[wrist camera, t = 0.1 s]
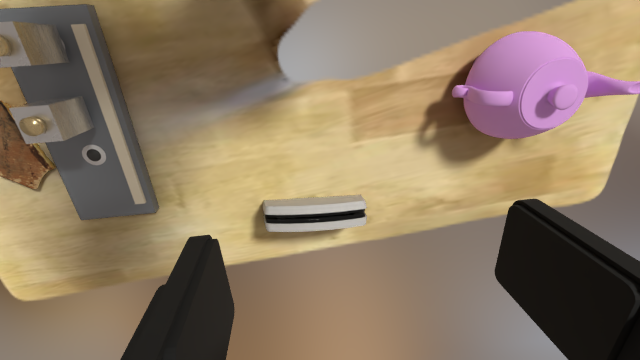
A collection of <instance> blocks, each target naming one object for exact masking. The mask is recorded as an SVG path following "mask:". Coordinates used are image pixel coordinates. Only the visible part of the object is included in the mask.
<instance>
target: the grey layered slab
mask: <svg viewBox="0 0 640 360" xmlns="http://www.w3.org/2000/svg"><path fill="white" fill-rule="evenodd" d="M365 208H367V207H366V203H365V200H364V198H363V197H362V196H361V195H347V196H330V197H313V198H296V199H279V200H264V202H263V211H264V214H265V215H263V217H264V222H265V226H266V230H267V231H270V232H303V231H321V230H333V229H342V228H350V227H356V226H362V225H365V224H366V219H367V216H366V214H365V212H364V211H365Z"/></svg>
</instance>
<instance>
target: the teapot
mask: <svg viewBox="0 0 640 360" xmlns="http://www.w3.org/2000/svg"><path fill="white" fill-rule="evenodd" d="M628 94H640V82H637V81H622V80H617V79H613V78H610V77H607V76H604V75H601V74H597V73H594V72H589V71H586V68H585V66H584V64H583V62H582V60H581V59H580V57H579V56H578V54H577V53H576V52H575V51H574V50H573V48H572V47H571V46H569V45H568V44H567V43H566V42H564V41H563V40H561V39H559V38H558V37H555V36H552V35H549V34H547V33H542V32H536V31H523V32H516V33H513V34H510V35H507V36H505V37H503V38H501V39H499V40H498V41H496V42H495V43H493V44H492V45H491V46H489V47H488V48H487V49H486V50H485V51H484V52H483V53H482V54H481V55H480V56H478V57H477V58H476V59H475V60H474V62H473V66H472V68H471V70H470V72H469V75H468V77H467V80H466V83H465V85H457V86H455V87H454V88H453V90H452V96H453V97H460V98H463V99H464V108H465V112H466V114H467V117H468V118H469V120H470V122H471V123H472V125H473V126H474V127H475V128H476V129H477V130H479V131H481V132H482V133H484V134H487V135H489V136H493V137H498V138H506V139H516V138H524V137H530V136H533V135H537V134H540V133H543V132H545V131H548V130H550V129H553V128H555V127H557V126H559V125H560V124H562V123H564V122H565V121H567V120H568V119H569V118H570V117H571V116H572V115H573V114H574V113H575V112H576V111H577V109H578V108H579V107H580V105H581V103H582V102H583V99H584V98H586V97H595V96H605V95H628Z"/></svg>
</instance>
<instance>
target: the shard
mask: <svg viewBox="0 0 640 360" xmlns="http://www.w3.org/2000/svg"><path fill="white" fill-rule="evenodd" d="M9 108H12V107H11V106H10V105H9V104H7V103H4V102H3V101H0V176H2V177H4V178H7V179H9V180H12V181H15V182H17V183H20V184H23V185H25V186H27V187H29V188H32V189H38V187H39V184H40V182H41V179H42V177H43V176H44V175H45V174H46V173H47V172H48V171H49V170H52V169H54V168H55V167H56V166H55V165H54V163H52V162H51V161H50V160H49V158H47V157H46V156H45V154H44V152H43V151H42V150H41V149H40V147H39V145H38V144H37V143H33V144H26V143H25V141H24V139H23V136H22V134H21V132H20V130H19V128H18V126H17V124H16V122H15V120H14V118H13V116H12V114H11V112H10V110H9Z"/></svg>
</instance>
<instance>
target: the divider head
mask: <svg viewBox="0 0 640 360" xmlns="http://www.w3.org/2000/svg"><path fill="white" fill-rule="evenodd" d="M9 110H10V112H11V114H12V116H13V118H14V120H15V122H16V124H17V126H18V128H19V130H20V132H21V134H22V136H23V139H24V141H25V143H26V144H33V143H45V142H56V141H65V140H67V139H69V138H71V137H74V136H76V135H78V134H81V133H83V132H85V131H88V130H90V129H92V128H94V126H93V123H92V120H91V118H90V115H89V113H88V110H87V107H86V105H85V102H84V99H83V97H82V96H81V97H68V98H54V99H46V100H42V101H38V102H33V103H29V104H25V105H20V106H16V107H12V108H9Z"/></svg>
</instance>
